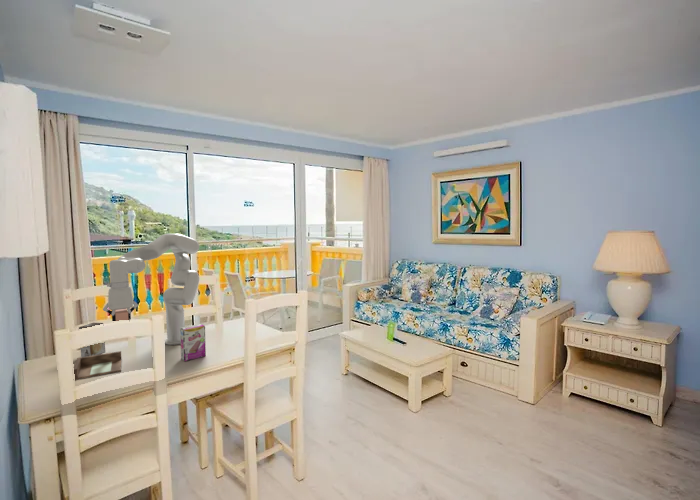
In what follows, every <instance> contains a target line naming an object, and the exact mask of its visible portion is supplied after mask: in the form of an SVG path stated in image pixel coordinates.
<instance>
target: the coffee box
mask: <svg viewBox="0 0 700 500" xmlns="http://www.w3.org/2000/svg"><path fill="white" fill-rule="evenodd" d="M100 324H103V325H104V323H103V322H92V323H89V324H88V323H87V324H85V325H82V326H78V330H79V329H82V328H87V327H92V326H95V325H100ZM105 343H106V341H105V342H104V343H98V344H94V345H90V346H87V347H84V348H80V358H81V357H87V356H93V355H100V354H105V352H106V344H105Z"/></svg>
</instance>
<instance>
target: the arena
mask: <svg viewBox="0 0 700 500" xmlns="http://www.w3.org/2000/svg"><path fill="white" fill-rule="evenodd" d="M122 361H123V358H122V351H121V350H120V351H115V352H114V351H113V352H107V353H101V354H99V355H93V356H87V357H81V356H80V357H77V358H76V359H75V362H74V366H73V368H74V374H75V380H74V381H76V379H77V380H80V379H79V378H83V379H87V377H88V378H93V377H92V376H94V377H99V376H103V375H102V374H105V375H108V374H107V373H110V374H115V373H116V374H117V373H121V372H122ZM98 375H99V376H98Z"/></svg>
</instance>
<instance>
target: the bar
mask: <svg viewBox="0 0 700 500" xmlns="http://www.w3.org/2000/svg"><path fill="white" fill-rule="evenodd" d="M115 316H116V321H119V320H129V319H128V310H127V308H126V309H118V310H115ZM129 321H130V320H129Z"/></svg>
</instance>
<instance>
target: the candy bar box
mask: <svg viewBox="0 0 700 500" xmlns="http://www.w3.org/2000/svg"><path fill="white" fill-rule="evenodd" d="M180 341H181V344H180V360H182V361H183V362H187V361H191V360H195V359H199V358H203V357H206V352H207V351H206V350H207V349H206V325H204V324H202V323H200V324H194V325H187V326H185V327H183V328H180Z"/></svg>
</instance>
